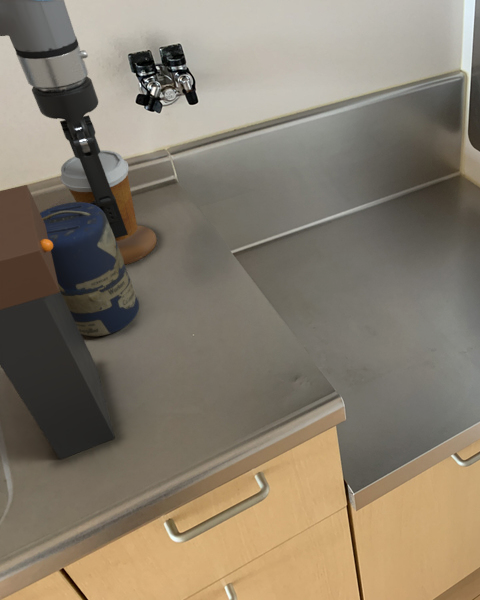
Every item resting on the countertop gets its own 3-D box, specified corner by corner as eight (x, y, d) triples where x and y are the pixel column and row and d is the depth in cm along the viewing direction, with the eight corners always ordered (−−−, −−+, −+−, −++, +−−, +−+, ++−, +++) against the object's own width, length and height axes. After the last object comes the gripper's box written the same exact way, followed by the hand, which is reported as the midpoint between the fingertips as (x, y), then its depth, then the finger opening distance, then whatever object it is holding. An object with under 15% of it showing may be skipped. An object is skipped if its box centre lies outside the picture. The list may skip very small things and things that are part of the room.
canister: (132, 340, 84) (88, 232, 72) (61, 343, 84) (5, 235, 72) (148, 294, 91) (111, 190, 79) (83, 297, 91) (36, 192, 79)
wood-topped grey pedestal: (115, 360, 81) (36, 182, 63) (136, 430, 73) (50, 247, 55) (47, 384, 78) (-57, 203, 60) (60, 459, 70) (-57, 275, 52)
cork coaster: (70, 255, 99) (69, 253, 98) (121, 221, 106) (120, 218, 106) (122, 274, 95) (121, 271, 95) (170, 237, 102) (170, 234, 102)
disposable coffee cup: (140, 246, 95) (116, 178, 87) (77, 249, 95) (47, 181, 87) (153, 213, 102) (132, 147, 94) (95, 215, 102) (69, 150, 94)
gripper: (102, 103, 77) (152, 249, 92) (78, 52, 91) (125, 185, 106) (38, 116, 74) (99, 264, 89) (23, 61, 88) (78, 197, 103)
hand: (113, 221), depth 97 cm, fingers closed on disposable coffee cup, 8 cm apart
